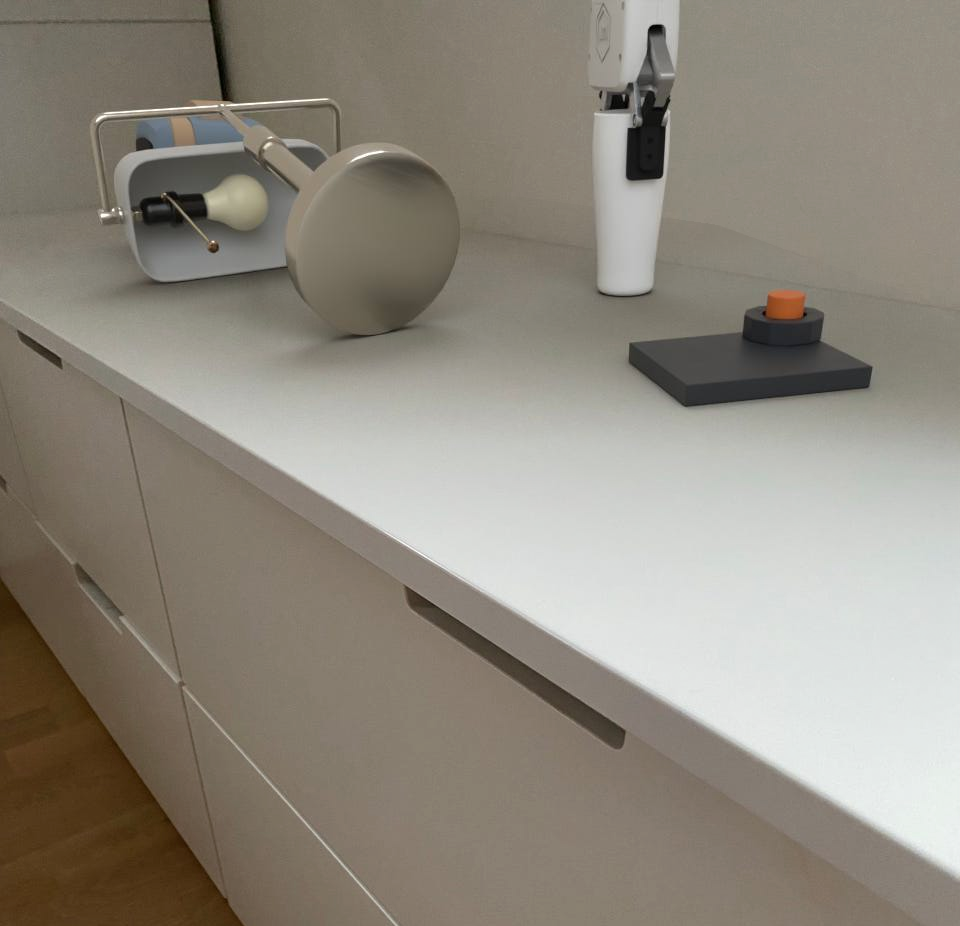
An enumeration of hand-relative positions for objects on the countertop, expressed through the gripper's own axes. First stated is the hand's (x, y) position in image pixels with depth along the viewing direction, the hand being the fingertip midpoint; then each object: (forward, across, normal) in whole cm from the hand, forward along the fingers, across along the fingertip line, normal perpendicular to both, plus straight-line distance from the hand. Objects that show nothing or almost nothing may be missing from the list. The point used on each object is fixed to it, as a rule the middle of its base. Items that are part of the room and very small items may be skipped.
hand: (629, 173), depth 87 cm
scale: (+10, +28, -1) cm, 30 cm away
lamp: (+10, -9, -30) cm, 33 cm away
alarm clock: (+10, -46, -38) cm, 61 cm away
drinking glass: (+10, 0, 0) cm, 10 cm away
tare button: (+8, +24, +4) cm, 26 cm away
